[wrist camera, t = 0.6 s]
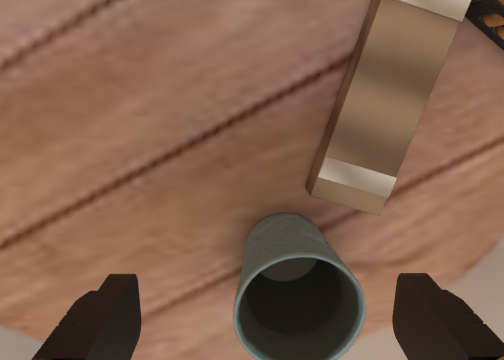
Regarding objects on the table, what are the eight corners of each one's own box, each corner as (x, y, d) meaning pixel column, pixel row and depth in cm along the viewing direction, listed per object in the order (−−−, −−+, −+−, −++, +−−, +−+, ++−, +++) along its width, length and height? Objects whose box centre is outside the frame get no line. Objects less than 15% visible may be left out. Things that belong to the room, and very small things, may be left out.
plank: (405, -96, 32) (423, -115, 29) (480, -68, 32) (506, -84, 29) (305, 187, 38) (311, 196, 35) (369, 205, 39) (380, 217, 36)
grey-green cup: (255, 302, 41) (260, 388, 30) (221, 222, 39) (211, 282, 27) (343, 271, 41) (382, 348, 29) (314, 188, 38) (344, 236, 27)
